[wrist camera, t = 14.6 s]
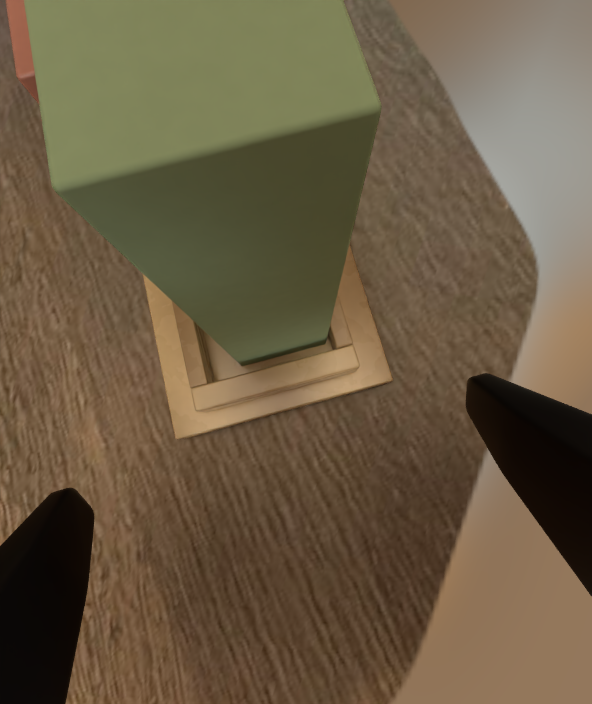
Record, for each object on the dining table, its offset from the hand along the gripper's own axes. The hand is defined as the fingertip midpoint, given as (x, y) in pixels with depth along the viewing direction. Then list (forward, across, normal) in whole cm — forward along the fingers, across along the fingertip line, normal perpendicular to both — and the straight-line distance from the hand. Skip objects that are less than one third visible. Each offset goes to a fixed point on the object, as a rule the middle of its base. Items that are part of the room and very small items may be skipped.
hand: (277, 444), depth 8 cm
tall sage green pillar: (+10, -1, +1) cm, 10 cm away
